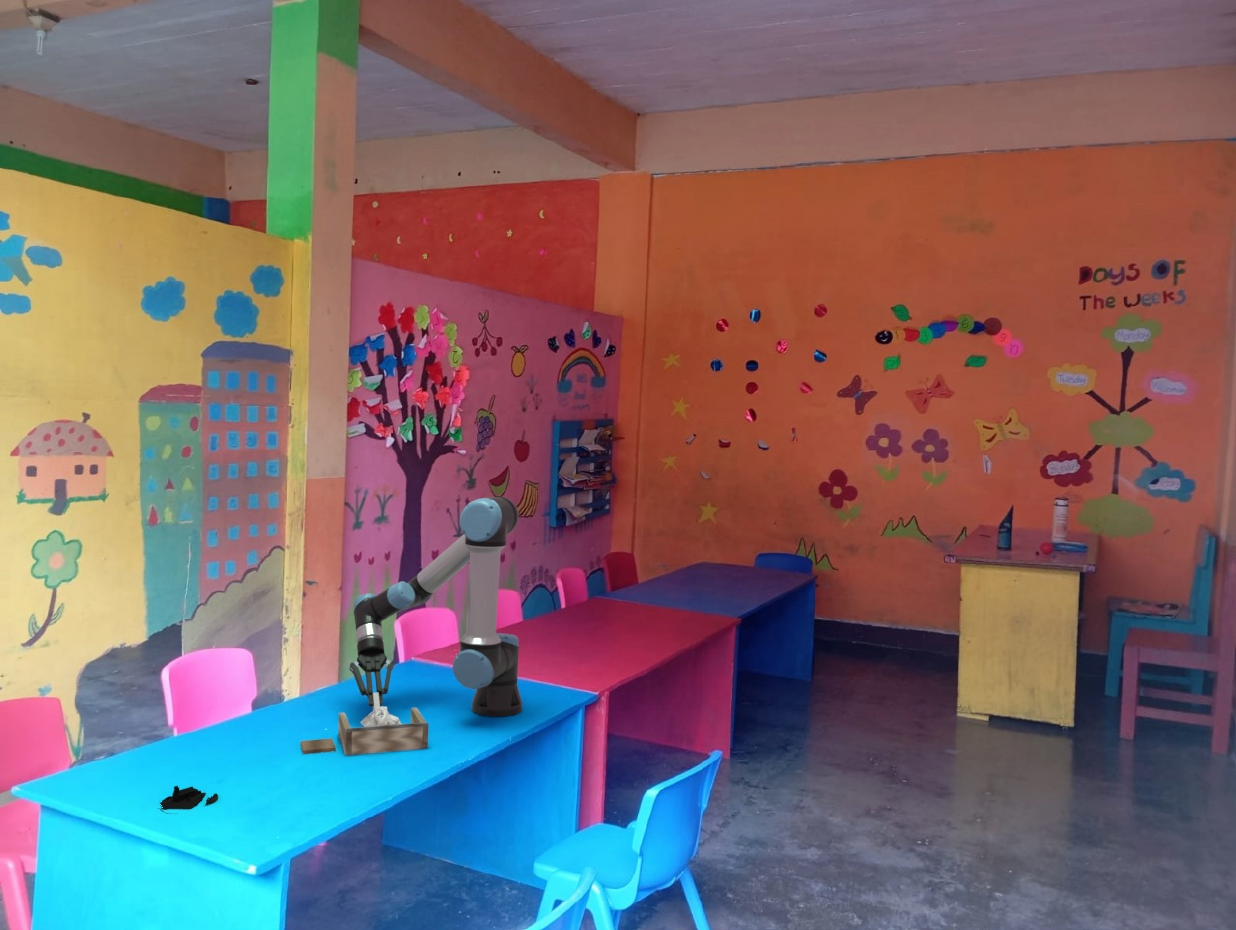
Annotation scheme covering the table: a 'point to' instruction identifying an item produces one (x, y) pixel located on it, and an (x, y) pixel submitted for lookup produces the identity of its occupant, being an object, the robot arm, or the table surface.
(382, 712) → the white rock
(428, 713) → the table surface
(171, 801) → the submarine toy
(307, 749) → the lid plate
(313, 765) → the table surface
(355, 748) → the brown wooden box
